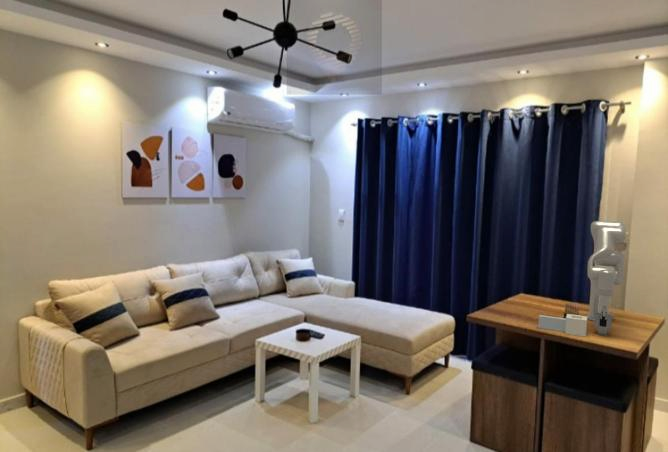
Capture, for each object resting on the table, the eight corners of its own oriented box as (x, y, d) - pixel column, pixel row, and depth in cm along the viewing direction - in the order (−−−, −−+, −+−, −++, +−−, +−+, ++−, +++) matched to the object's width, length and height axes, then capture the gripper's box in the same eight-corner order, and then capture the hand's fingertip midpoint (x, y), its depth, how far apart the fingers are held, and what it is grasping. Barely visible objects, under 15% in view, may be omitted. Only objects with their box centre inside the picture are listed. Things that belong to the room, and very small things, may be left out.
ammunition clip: (563, 320, 287) (564, 301, 286) (565, 320, 288) (566, 301, 287) (575, 326, 277) (577, 305, 276) (578, 326, 277) (580, 305, 276)
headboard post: (539, 325, 277) (540, 310, 276) (585, 332, 265) (587, 316, 265) (537, 329, 269) (538, 313, 268) (585, 336, 257) (586, 320, 257)
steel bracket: (593, 332, 266) (595, 312, 265) (610, 334, 262) (611, 314, 261) (593, 333, 264) (595, 314, 263) (610, 336, 260) (612, 316, 259)
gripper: (597, 288, 270) (594, 320, 271) (597, 294, 255) (595, 328, 257) (612, 290, 266) (610, 322, 268) (613, 296, 252) (611, 330, 254)
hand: (602, 325), depth 263 cm, fingers closed on steel bracket, 3 cm apart
